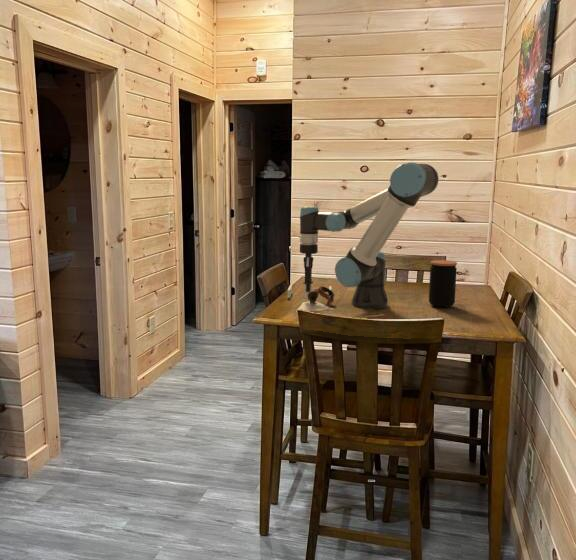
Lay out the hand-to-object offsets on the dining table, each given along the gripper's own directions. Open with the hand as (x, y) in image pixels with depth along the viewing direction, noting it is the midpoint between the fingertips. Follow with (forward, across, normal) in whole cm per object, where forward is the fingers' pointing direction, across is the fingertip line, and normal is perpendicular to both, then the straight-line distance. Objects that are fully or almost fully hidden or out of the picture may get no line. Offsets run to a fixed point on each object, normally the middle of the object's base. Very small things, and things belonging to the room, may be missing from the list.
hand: (307, 298), depth 233 cm
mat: (+2, +8, 0) cm, 8 cm away
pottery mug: (+3, +3, +3) cm, 5 cm away
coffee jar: (+2, -3, +56) cm, 57 cm away
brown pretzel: (+2, -12, 0) cm, 12 cm away
